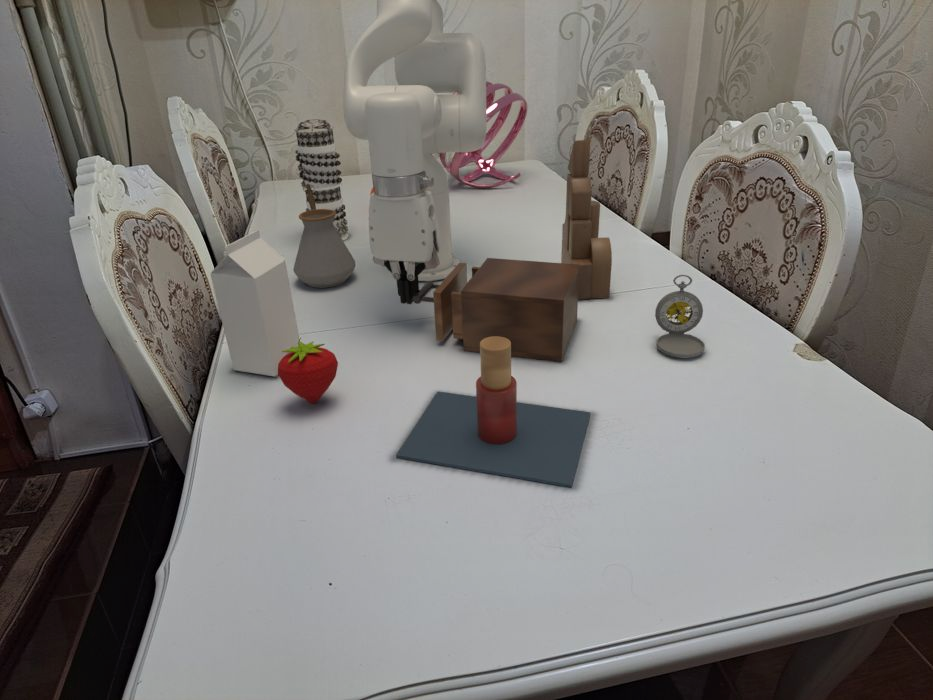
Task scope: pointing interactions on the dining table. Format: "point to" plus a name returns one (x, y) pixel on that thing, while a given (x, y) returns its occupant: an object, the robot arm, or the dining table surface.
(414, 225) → the robot arm
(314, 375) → the strawberry
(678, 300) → the pocket watch
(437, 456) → the mat
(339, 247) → the coffee pot
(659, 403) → the dining table surface
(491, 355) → the red cylinder
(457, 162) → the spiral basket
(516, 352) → the cabinet
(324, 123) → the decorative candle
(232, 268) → the milk carton
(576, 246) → the wooden toy
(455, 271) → the drawer
